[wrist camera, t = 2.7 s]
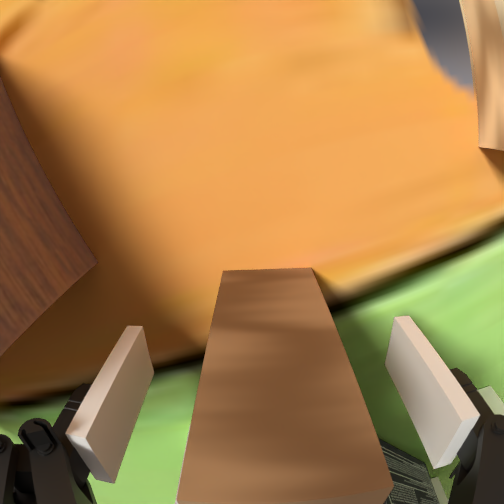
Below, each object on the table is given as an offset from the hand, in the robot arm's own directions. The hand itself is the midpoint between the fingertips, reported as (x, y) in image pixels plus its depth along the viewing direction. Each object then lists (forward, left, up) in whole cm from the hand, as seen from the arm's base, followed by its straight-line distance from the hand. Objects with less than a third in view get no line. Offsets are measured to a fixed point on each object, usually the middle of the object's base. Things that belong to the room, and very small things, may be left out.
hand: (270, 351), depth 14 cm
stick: (+12, +14, -2) cm, 19 cm away
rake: (+5, -12, -2) cm, 13 cm away
